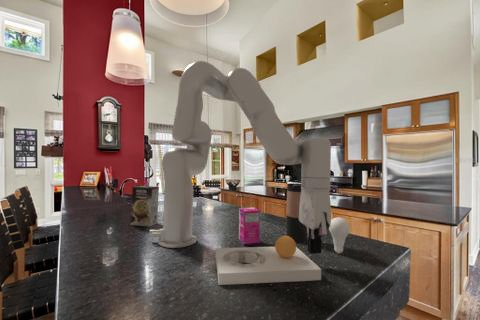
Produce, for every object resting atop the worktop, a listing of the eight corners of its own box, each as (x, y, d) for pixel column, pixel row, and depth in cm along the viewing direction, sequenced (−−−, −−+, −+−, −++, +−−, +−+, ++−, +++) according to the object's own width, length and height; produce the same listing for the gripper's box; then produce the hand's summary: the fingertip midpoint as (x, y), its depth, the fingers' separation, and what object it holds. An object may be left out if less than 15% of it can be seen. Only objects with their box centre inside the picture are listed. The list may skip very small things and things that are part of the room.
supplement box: (238, 240, 84) (238, 207, 84) (253, 239, 86) (254, 207, 86) (243, 245, 79) (244, 210, 79) (260, 244, 80) (260, 210, 81)
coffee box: (130, 225, 100) (131, 186, 101) (139, 221, 107) (140, 185, 107) (150, 226, 99) (151, 187, 99) (158, 223, 105) (159, 186, 105)
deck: (218, 284, 53) (219, 273, 53) (215, 256, 69) (215, 248, 69) (321, 280, 56) (321, 269, 56) (295, 254, 72) (295, 246, 72)
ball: (278, 261, 60) (279, 239, 60) (272, 253, 66) (272, 233, 66) (299, 260, 61) (299, 239, 61) (291, 252, 66) (292, 232, 67)
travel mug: (305, 236, 90) (306, 183, 91) (309, 243, 83) (310, 185, 83) (285, 235, 91) (286, 183, 91) (286, 242, 83) (288, 184, 84)
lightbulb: (323, 251, 76) (324, 216, 76) (338, 248, 78) (339, 214, 78) (338, 258, 70) (339, 220, 70) (354, 255, 73) (354, 219, 73)
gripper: (292, 181, 72) (291, 243, 71) (315, 186, 57) (313, 264, 57) (315, 182, 73) (314, 243, 72) (344, 186, 58) (343, 263, 58)
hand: (314, 252), depth 65 cm, fingers closed
